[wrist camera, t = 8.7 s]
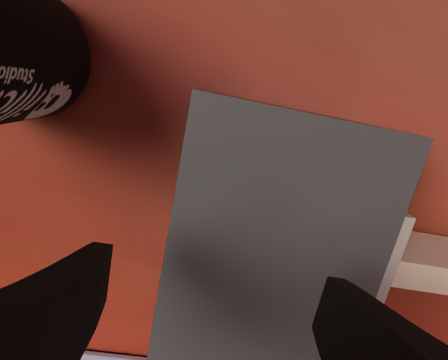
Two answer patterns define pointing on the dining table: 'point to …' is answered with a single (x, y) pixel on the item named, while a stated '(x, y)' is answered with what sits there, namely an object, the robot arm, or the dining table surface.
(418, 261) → the pale narrow strip
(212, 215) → the panel
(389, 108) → the dining table surface
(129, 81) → the dining table surface
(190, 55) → the dining table surface
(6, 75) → the beverage can
